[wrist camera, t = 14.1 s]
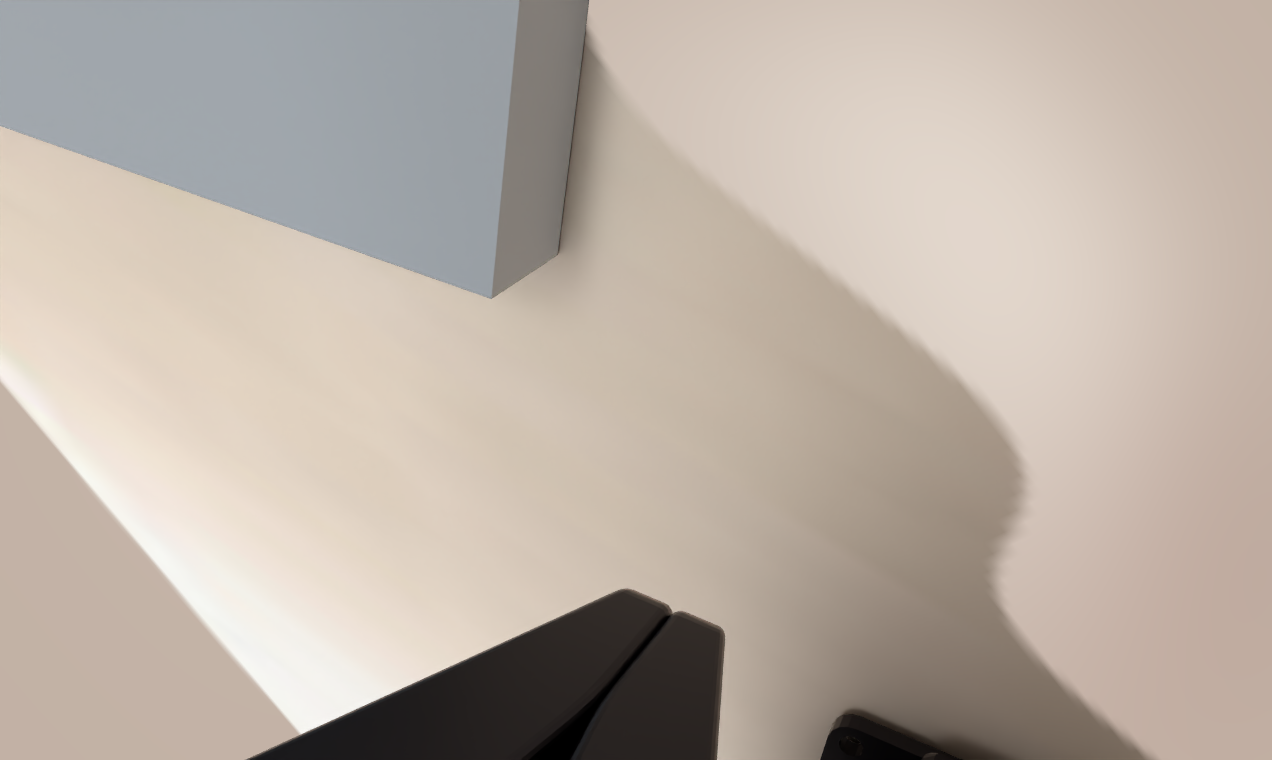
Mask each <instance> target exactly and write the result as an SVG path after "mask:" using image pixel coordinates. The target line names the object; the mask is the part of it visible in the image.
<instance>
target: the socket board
mask: <svg viewBox="0 0 1272 760" xmlns="http://www.w3.org/2000/svg"><path fill="white" fill-rule="evenodd" d="M588 5H589V0H0V126H2V127H5V128H8V129H10V130H13V131H16V132H19V133H22V134H25V135H28V136H30V137H33V138H36V139H39V140H42V141H45V142H47V143H50V144H53V145H56V146H59V147H62V148H64V149H67V150H70V151H73V152H76V153H79V154H81V155H84V156H87V157H90V158H93V159H96V160H98V161H101V162H104V163H107V164H110V165H113V166H116V167H118V168H121V169H124V170H127V171H130V172H133V173H135V174H138V175H141V176H144V177H147V178H150V179H152V180H155V181H158V182H161V183H164V184H167V185H169V186H172V187H175V188H178V189H181V190H184V191H187V192H189V193H192V194H195V195H198V196H201V197H204V198H206V199H209V200H212V201H215V202H218V203H221V204H223V205H226V206H229V207H232V208H235V209H238V210H240V211H243V212H246V213H249V214H252V215H255V216H257V217H260V218H263V219H266V220H269V221H272V222H275V223H277V224H280V225H283V226H286V227H289V228H292V229H294V230H297V231H300V232H303V233H306V234H309V235H311V236H314V237H317V238H320V239H323V240H326V241H328V242H331V243H334V244H337V245H340V246H343V247H345V248H348V249H351V250H354V251H357V252H360V253H363V254H365V255H368V256H371V257H374V258H377V259H380V260H382V261H385V262H388V263H391V264H394V265H397V266H399V267H402V268H405V269H408V270H411V271H414V272H416V273H419V274H422V275H425V276H428V277H431V278H433V279H436V280H439V281H442V282H445V283H448V284H451V285H453V286H456V287H459V288H462V289H465V290H468V291H470V292H473V293H476V294H479V295H482V296H485V297H487V298H490V299H492V298H493V297H495V296H496V295H498V294H499V293H501V292H502V291H504V290H505V289H507V288H508V287H510V286H511V285H513V284H515V283H516V282H518V281H519V280H521V279H522V278H524V277H525V276H527V275H528V274H530V273H531V272H533V271H534V270H536V269H537V268H539V267H540V266H542V265H543V264H545V263H546V262H548V261H549V260H551V259H552V258H554V257H555V256H557V255H558V247H559V239H560V231H561V223H562V215H563V207H564V199H565V191H566V183H567V175H568V167H569V158H570V150H571V142H572V134H573V126H574V118H575V110H576V102H577V94H578V86H579V78H580V70H581V62H582V54H583V45H584V37H585V29H586V21H587V13H588Z"/></svg>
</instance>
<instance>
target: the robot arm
mask: <svg viewBox="0 0 1272 760" xmlns="http://www.w3.org/2000/svg"><path fill="white" fill-rule="evenodd" d="M724 647H725V634H724V631H723V629H722V628H721V627H719V626H717V625H715V624H713V623H710V622H708V621H706V620H703V619H701V618H698V617H696V616H694V615H691V614H689V613H687V612H684V611H678V612H675V613H672V610H671V608H670V607H669V606H668V605H667V604H665V603H663V602H661V601H658V600H656V599H653V598H651V597H649V596H646V595H644V594H642V593H639V592H637V591H635V590H631V589H621V590H618V591H615V592H613V593H611V594H609V595H606V596H604V597H602V598H600V599H598V600H595V601H593V602H591V603H589V604H587V605H585V606H582V607H580V608H578V609H576V610H574V611H571V612H569V613H567V614H565V615H563V616H560V617H558V618H556V619H554V620H552V621H549V622H547V623H545V624H543V625H541V626H538V627H536V628H534V629H532V630H530V631H527V632H525V633H523V634H521V635H519V636H516V637H514V638H512V639H510V640H508V641H505V642H503V643H501V644H499V645H497V646H494V647H492V648H490V649H488V650H486V651H483V652H481V653H479V654H477V655H475V656H472V657H470V658H468V659H466V660H464V661H461V662H459V663H457V664H455V665H453V666H450V667H448V668H446V669H444V670H442V671H440V672H437V673H435V674H433V675H431V676H429V677H426V678H424V679H422V680H420V681H418V682H415V683H413V684H411V685H409V686H407V687H404V688H402V689H400V690H398V691H396V692H393V693H391V694H389V695H387V696H385V697H382V698H380V699H378V700H376V701H374V702H371V703H369V704H367V705H365V706H363V707H360V708H358V709H356V710H354V711H352V712H349V713H347V714H345V715H343V716H341V717H338V718H336V719H334V720H332V721H330V722H327V723H325V724H323V725H321V726H319V727H316V728H314V729H312V730H310V731H308V732H305V733H303V734H301V735H299V736H297V737H295V738H292V739H290V740H288V741H286V742H284V743H281V744H279V745H277V746H275V747H273V748H271V749H268V750H266V751H264V752H262V753H259V754H257V755H255V756H253V757H251V758H248V759H246V760H717V749H718V734H719V720H720V705H721V690H722V676H723V661H724ZM846 736H849V737H854V738H855V739H857V740H858V741H860V742H861V743H860V744H858V743H854V742H852V741H850V740H849V739H847V737H846ZM820 760H961V759H959V758H957V757H954V756H952V755H950V754H948V753H945V752H943V751H941V750H938V749H936V748H934V747H931V746H929V745H927V744H924V743H922V742H920V741H917V740H915V739H913V738H910V737H908V736H906V735H903V734H901V733H899V732H896V731H894V730H892V729H889V728H887V727H885V726H882V725H880V724H878V723H875V722H873V721H871V720H868V719H866V718H864V717H861V716H858V715H854V714H847V715H842V716H840V717H838V718H837V719H836V720H835V722H834V723H833V725H832V728H831V730H830V733H829V735H828V738H827V741H826V744H825V747H824V750H823V753H822V756H821V759H820Z"/></svg>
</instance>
